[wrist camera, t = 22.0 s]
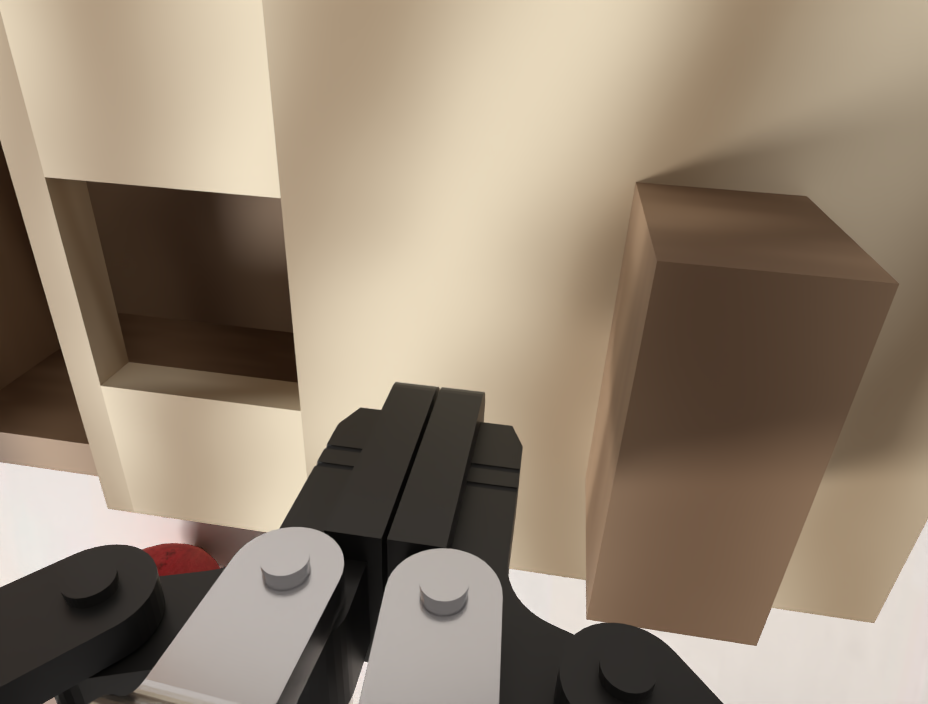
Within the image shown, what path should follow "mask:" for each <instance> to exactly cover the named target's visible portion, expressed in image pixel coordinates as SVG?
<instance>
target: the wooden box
mask: <svg viewBox="0 0 928 704" xmlns="http://www.w3.org/2000/svg"><path fill="white" fill-rule="evenodd" d="M86 184H87V188H88V192H89V196H90V201H91V205H92V209H93V213H94V217H95V222H96V226H97V230H98V234H99V238H100V243H101V247H102V251H103V255H104V259H105V264H106V268H107V272H108V276H109V280H110V285H111V289H112V293H113V297H114V302H115V306H116V310H117V314H118V318H119V323H120V327H121V331H122V335H123V339H124V344H125V348H126V352H127V356H128V360H129V362H132V363H141V364H149V365H157V366H165V367H173V368H182V369H190V370H198V371H206V372H214V373H223V374H231V375H239V376H247V377H255V378H264V379H272V380H280V381H288V382H296V383H298V376H297V366H296V355H295V344H294V334H293V323H292V313H291V302H290V292H289V281H288V270H287V260H286V249H285V239H284V228H283V218H282V207H281V198H272V197H261V196H250V195H239V194H228V193H216V192H205V191H194V190H183V189H172V188H161V187H149V186H138V185H127V184H116V183H105V182H94V181H86ZM0 462H3V463H10V464H17V465H24V466H31V467H38V468H45V469H52V470H59V471H66V472H73V473H80V474H87V475H94V476H98V473H97V469H96V466H95V463H94V459H93V456H92V452H91V449H90V445H89V442H88V439H87V435H86V432H85V428H84V425H83V422H82V418H81V415H80V411H79V408H78V404H77V401H76V398H75V394H74V391H73V387H72V384H71V381H70V377H69V374H68V370H67V367H66V363H65V360H64V357H63V353H62V350H61V346H60V343H59V339H58V336H57V333H56V329H55V326H54V322H53V319H52V316H51V312H50V309H49V305H48V302H47V298H46V295H45V292H44V288H43V285H42V281H41V278H40V274H39V271H38V268H37V264H36V261H35V257H34V254H33V251H32V247H31V244H30V240H29V237H28V233H27V230H26V227H25V223H24V220H23V216H22V213H21V209H20V206H19V203H18V199H17V196H16V192H15V189H14V186H13V182H12V179H11V175H10V172H9V168H8V165H7V162H6V158H5V155H4V151H3V148H2V144H1V141H0Z"/></svg>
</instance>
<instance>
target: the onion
mask: <svg viewBox="0 0 928 704" xmlns="http://www.w3.org/2000/svg"><path fill="white" fill-rule="evenodd" d="M142 550H143V551H145V552H146V553H148V554H149V555H150V556H151V557H152V558H153V560H154V562H155V564H156V566H157V570H158V574H159V576H166V575H175V574H184V573H192V572H201V571H209V570H215V569H220V567H219V565H218V564H217V562H216V560H215V559H214V558H213V557H212V556H211V555H209V554H208V553H207V552H206V551H205V550H203V549H202V548H200V547H197V546H193V545H189V544H178V543H170V544H161V545H156V546H152V547H148V548H145V549H142Z"/></svg>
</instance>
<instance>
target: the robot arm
mask: <svg viewBox="0 0 928 704" xmlns="http://www.w3.org/2000/svg"><path fill="white" fill-rule="evenodd" d="M484 412H485V392H480V391H471V390H463V389H454V388H446V387H441V389H440V388H439V387H436V386H427V385H419V384H410V383H402V382H395V383H394V384H393V386H392V388H391V390H390V393H389V395H388V397H387V399H386V401H385V403H384V405H383V407H382V409H381V410H378V409H370V408H361V407H360V408H359V409H358V410H356V411H355V412H353V413H352V414H351V415H349V416H348V417H347V418H345V419H344V420H343V421H341V422H340V423H338V425H337V427H336V429H335V430H334V432H333V434H332V436H331V437H330V439H329V441H328V443H327V447H326V448H324V450H323V452H322V453H321V455H320V457H319V459H318V461H317V465H316V466H314V468H313V469H312V471H311V473H310V475H309V477H308V478H307V480H306V482H305V484H304V485H303V487H302V489H301V491H300V493H299V494H298V496H297V498H296V500H295V501H294V503H293V505H292V507H291V509H290V510H289V512H288V514H287V516H286V517H285V519H284V521H283V523H282V525H281V526H280V528H279V529H276V530H272V531H270V532H267V533H264V534H262V535H260V536H258V537H256V538H254V539H253V540H251V541H250V542H248V543H247V544H245V545H244V546H243V547H242V548H241V549H240V550H239V551H238V552H237V553H236V554H235V556H234V557H233V558H232V560H231V561H230V562H229V564H228V565H227V567H224V568H220V569H215V570H209V571H201V572H192V573H184V574H175V575H166V576H159V574H158V570H157V566H156V564H155V562H154V560H153V558H152V557H151V556H150V555H149V554H148V553H146V552H145V551H143V550H142V549H139V548H136V547H133V546H128V545H105V546H99V547H94V548H91V549H87V550H84V551H81V552H79V553H76V554H74V555H72V556H69V557H67V558H65V559H63V560H60V561H58V562H56V563H54V564H52V565H49V566H47V567H45V568H43V569H40V570H38V571H36V572H34V573H32V574H29V575H27V576H25V577H23V578H20V579H18V580H16V581H14V582H11V583H9V584H7V585H5V586H3V587H0V704H43V703H44V702H46V701H48V700H50V699H52V698H53V697H55V700H56V702H57V704H353V698H352V696H353V693H354V690H355V687H356V684H357V681H358V678H359V675H360V672H361V669H362V666H363V663H364V661H365V662H368V665H367V670H366V674H365V678H364V683H363V687H362V691H361V696H360V700H359V704H723V703H722V702H721V701H720V700H719V699H718V697H717V696H716V695H715V694H714V693H713V692H712V691H711V690H710V689H709V688H708V687H707V686H706V685H705V684H704V683H703V681H702V680H701V679H700V678H699V677H698V676H697V675H696V674H695V673H694V672H693V671H692V670H691V669H690V668H689V666H688V665H687V664H686V663H685V662H684V661H683V660H682V659H681V658H680V657H679V656H678V655H677V654H676V653H675V652H674V651H673V650H672V649H671V648H670V647H669V646H668V645H667V644H666V643H665V642H663V641H662V640H661V639H659V638H658V637H656V636H655V635H653V634H651V633H649V632H647V631H645V630H643V629H640V628H638V627H635V626H631V625H627V624H622V623H600V624H595V625H592V626H589V627H586V628H584V629H582V630H581V631H579V632H578V633H576V634H575V635H573V634H571V633H569V632H567V631H565V630H563V629H560V628H558V627H556V626H554V625H552V624H550V623H548V622H546V621H544V620H542V619H540V618H539V617H538V616H536V615H535V614H533V613H532V612H531V611H530V610H529V609H527V608H526V607H525V606H524V605H523V604H522V602H521V601H520V600H519V599H518V597H517V596H516V594H515V592H514V591H513V589H512V586H511V584H510V581H509V576H508V574H509V566H510V558H511V550H512V542H513V534H514V526H515V518H516V508H517V499H518V489H519V479H520V470H521V460H522V451H523V446H522V444H521V442H520V440H519V438H518V436H517V434H516V432H515V430H514V428H513V426H510V425H502V424H493V423H485V422H484Z"/></svg>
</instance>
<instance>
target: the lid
mask: <svg viewBox="0 0 928 704" xmlns="http://www.w3.org/2000/svg"><path fill="white" fill-rule="evenodd" d="M0 141H1V144H2V148H3V151H4V155H5V158H6V162H7V165H8V168H9V172H10V175H11V179H12V182H13V186H14V189H15V192H16V196H17V199H18V203H19V206H20V209H21V213H22V216H23V220H24V223H25V227H26V230H27V233H28V237H29V240H30V244H31V247H32V251H33V254H34V257H35V261H36V264H37V268H38V271H39V274H40V278H41V281H42V285H43V288H44V292H45V295H46V298H47V302H48V305H49V309H50V312H51V316H52V319H53V322H54V326H55V329H56V333H57V336H58V339H59V343H60V346H61V350H62V353H63V357H64V360H65V363H66V367H67V370H68V374H69V377H70V381H71V384H72V387H73V391H74V394H75V398H76V401H77V404H78V408H79V411H80V415H81V418H82V422H83V425H84V428H85V432H86V435H87V439H88V442H89V445H90V449H91V452H92V456H93V459H94V463H95V466H96V469H97V473H98V476H99V480H100V483H101V487H102V490H103V493H104V497H105V500H106V504H107V507H108V509H114V510H121V511H127V512H134V513H141V514H147V515H154V516H161V517H167V518H174V519H181V520H188V521H194V522H201V523H208V524H214V525H221V526H228V527H234V528H241V529H248V530H254V531H261V532H270V531H272V530H276V529H279V528H280V526H281V525H282V523H283V521H284V519H285V517H286V516H287V514H288V512H289V510H290V509H291V507H292V505H293V503H294V501H295V500H296V498H297V496H298V494H299V493H300V491H301V489H302V487H303V485H304V484H305V482H306V480H307V478H308V477H309V475H310V473H311V471H312V469H313V468H314V466H316V465H317V461H318V459H319V457H320V455H321V453H322V452H323V450H324V448H326V447H327V443H328V441H329V439H330V437H331V436H332V434H333V432H334V430H335V429H336V427H337V425H338V423H340V422H341V421H343V420H344V419H345V418H347V417H348V416H349V415H351V414H352V413H353V412H355V411H356V410H358V409H359V408H360V407H361V408H370V409H378V410H381V409H382V407H383V405H384V403H385V401H386V399H387V397H388V395H389V393H390V390H391V388H392V386H393V384H394V383H395V382H402V383H410V384H419V385H427V386H436V387H439V388H440V389H441V387H446V388H454V389H463V390H471V391H480V392H485V412H484V422H485V423H493V424H502V425H510V426H513V428H514V430H515V432H516V434H517V436H518V438H519V440H520V442H521V444H522V446H523V451H522V460H521V470H520V479H519V489H518V499H517V508H516V518H515V526H514V534H513V542H512V550H511V558H510V566H509V569H516V570H522V571H529V572H536V573H542V574H549V575H556V576H562V577H569V578H576V579H583V580H586V619H587V620H594V621H600V622H607V623H622V624H627V625H631V626H635V627H639V628H645V629H651V630H658V631H664V632H671V633H677V634H683V635H690V636H696V637H703V638H709V639H715V640H722V641H728V642H735V643H741V644H748V645H754V646H756V645H757V643H758V640H759V638H760V635H761V633H762V630H763V628H764V625H765V623H766V620H767V618H768V615H769V613H770V610H771V608H777V609H783V610H790V611H797V612H803V613H810V614H817V615H824V616H830V617H837V618H844V619H850V620H857V621H864V622H870V623H874V622H875V620H876V618H877V617H878V615H879V613H880V611H881V609H882V607H883V605H884V603H885V601H886V599H887V597H888V595H889V593H890V591H891V589H892V587H893V585H894V583H895V582H896V580H897V578H898V576H899V574H900V572H901V570H902V568H903V566H904V564H905V562H906V560H907V558H908V556H909V554H910V552H911V550H912V549H913V547H914V545H915V543H916V541H917V539H918V537H919V535H920V533H921V531H922V529H923V527H924V525H925V523H926V521H927V519H928V0H0ZM86 181H94V182H105V183H116V184H127V185H138V186H149V187H161V188H172V189H183V190H194V191H205V192H216V193H228V194H239V195H250V196H261V197H272V198H281V207H282V218H283V228H284V239H285V249H286V260H287V270H288V281H289V292H290V302H291V313H292V323H293V334H294V344H295V355H296V366H297V376H298V383H296V382H288V381H280V380H272V379H264V378H255V377H247V376H239V375H231V374H223V373H214V372H206V371H198V370H190V369H182V368H173V367H165V366H157V365H149V364H141V363H132V362H129V360H128V356H127V352H126V348H125V344H124V339H123V335H122V331H121V327H120V323H119V318H118V314H117V310H116V306H115V302H114V297H113V293H112V289H111V285H110V280H109V276H108V272H107V268H106V264H105V259H104V255H103V251H102V247H101V243H100V238H99V234H98V230H97V226H96V222H95V217H94V213H93V209H92V205H91V201H90V196H89V192H88V188H87V184H86Z"/></svg>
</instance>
